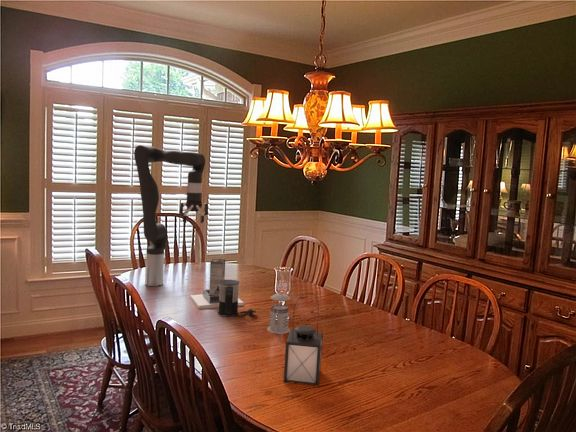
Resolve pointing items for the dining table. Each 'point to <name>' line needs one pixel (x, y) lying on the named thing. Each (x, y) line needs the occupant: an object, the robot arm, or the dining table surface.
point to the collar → (208, 297)
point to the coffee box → (216, 275)
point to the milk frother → (230, 298)
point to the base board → (203, 303)
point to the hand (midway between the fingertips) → (193, 223)
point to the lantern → (303, 354)
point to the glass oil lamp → (279, 314)
